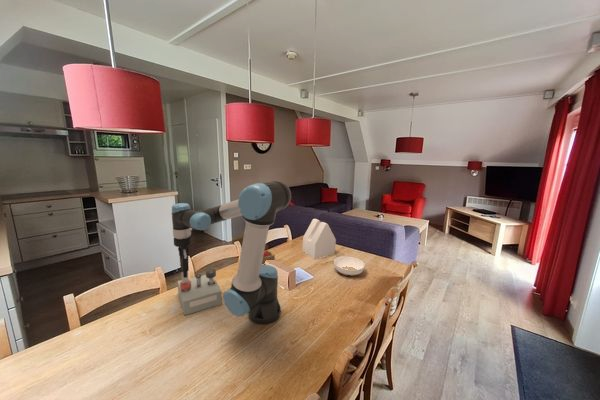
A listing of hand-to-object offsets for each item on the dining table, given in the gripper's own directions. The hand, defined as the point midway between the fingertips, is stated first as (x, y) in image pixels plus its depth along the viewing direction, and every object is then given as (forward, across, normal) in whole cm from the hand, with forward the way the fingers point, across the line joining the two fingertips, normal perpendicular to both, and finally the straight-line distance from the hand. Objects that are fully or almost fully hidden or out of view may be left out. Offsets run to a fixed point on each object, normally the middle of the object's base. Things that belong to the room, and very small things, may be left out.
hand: (185, 282), depth 117 cm
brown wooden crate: (+11, +23, -50) cm, 56 cm away
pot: (+4, 0, -6) cm, 7 cm away
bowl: (+11, -17, -94) cm, 96 cm away
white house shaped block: (+11, +16, -95) cm, 97 cm away
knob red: (+9, 0, 0) cm, 9 cm away
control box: (+11, 0, -6) cm, 12 cm away
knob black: (+6, 0, -12) cm, 14 cm away
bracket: (+11, +22, -49) cm, 55 cm away
